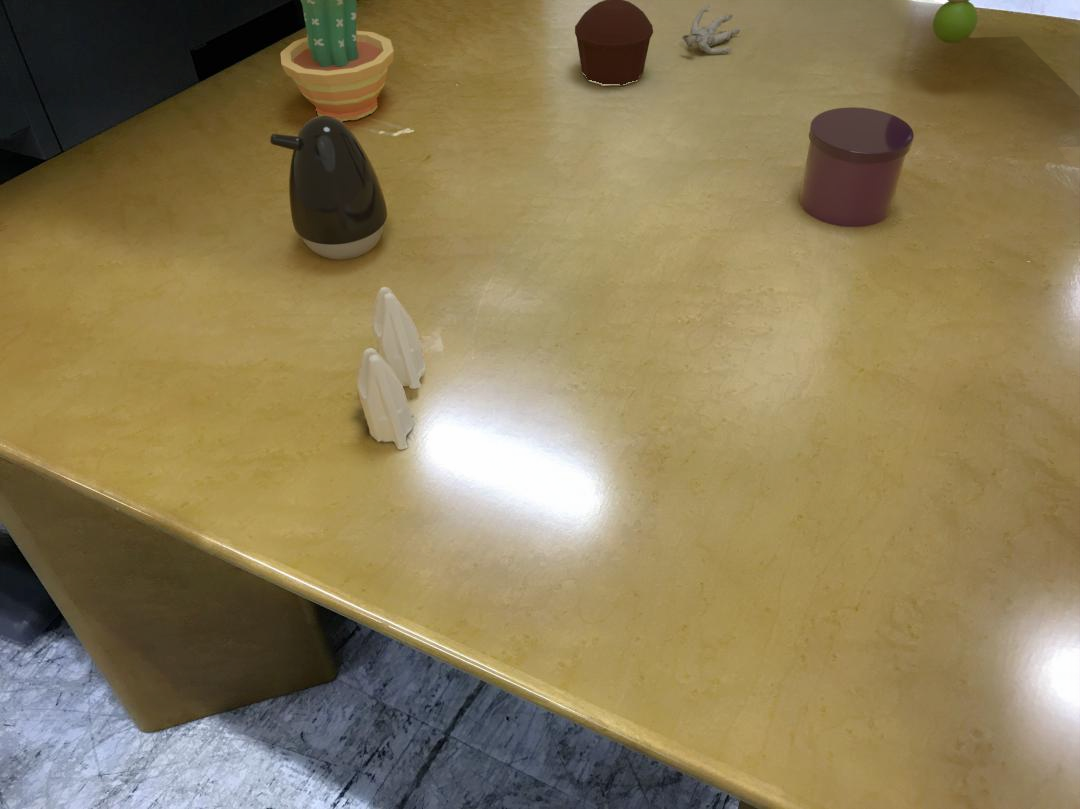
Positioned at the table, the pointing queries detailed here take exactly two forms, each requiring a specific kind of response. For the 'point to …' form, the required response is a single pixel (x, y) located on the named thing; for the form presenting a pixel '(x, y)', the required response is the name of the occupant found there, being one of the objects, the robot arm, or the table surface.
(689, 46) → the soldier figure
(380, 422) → the shaker set
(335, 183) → the pump dispenser
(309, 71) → the potted cactus
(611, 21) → the muffin
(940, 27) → the snail figurine
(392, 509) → the table surface
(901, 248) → the table surface
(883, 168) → the jar
